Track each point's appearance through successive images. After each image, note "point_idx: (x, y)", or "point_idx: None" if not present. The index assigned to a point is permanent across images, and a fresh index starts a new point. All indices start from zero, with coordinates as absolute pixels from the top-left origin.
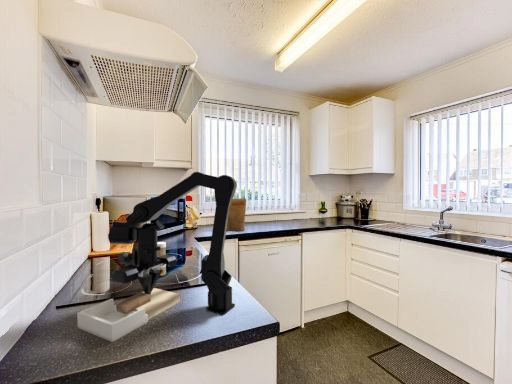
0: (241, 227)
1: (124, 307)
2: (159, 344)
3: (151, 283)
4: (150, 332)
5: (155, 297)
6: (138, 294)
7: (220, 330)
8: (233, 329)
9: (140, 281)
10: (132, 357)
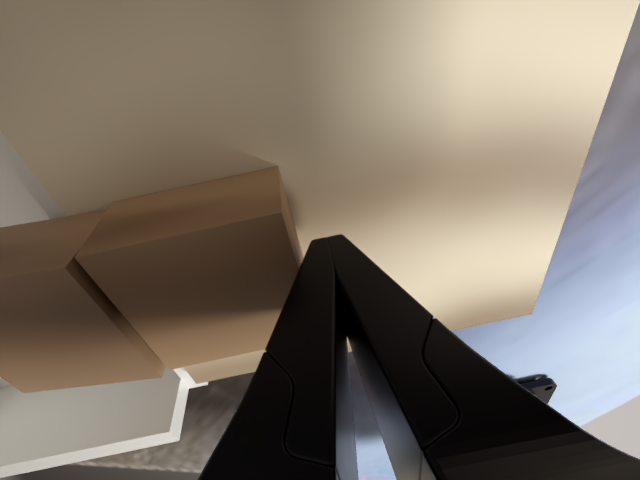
0: None
1: (12, 381)
2: (186, 454)
3: (384, 433)
4: (187, 403)
5: (391, 244)
6: (218, 252)
7: (363, 470)
8: (386, 476)
9: (229, 469)
10: (85, 463)
